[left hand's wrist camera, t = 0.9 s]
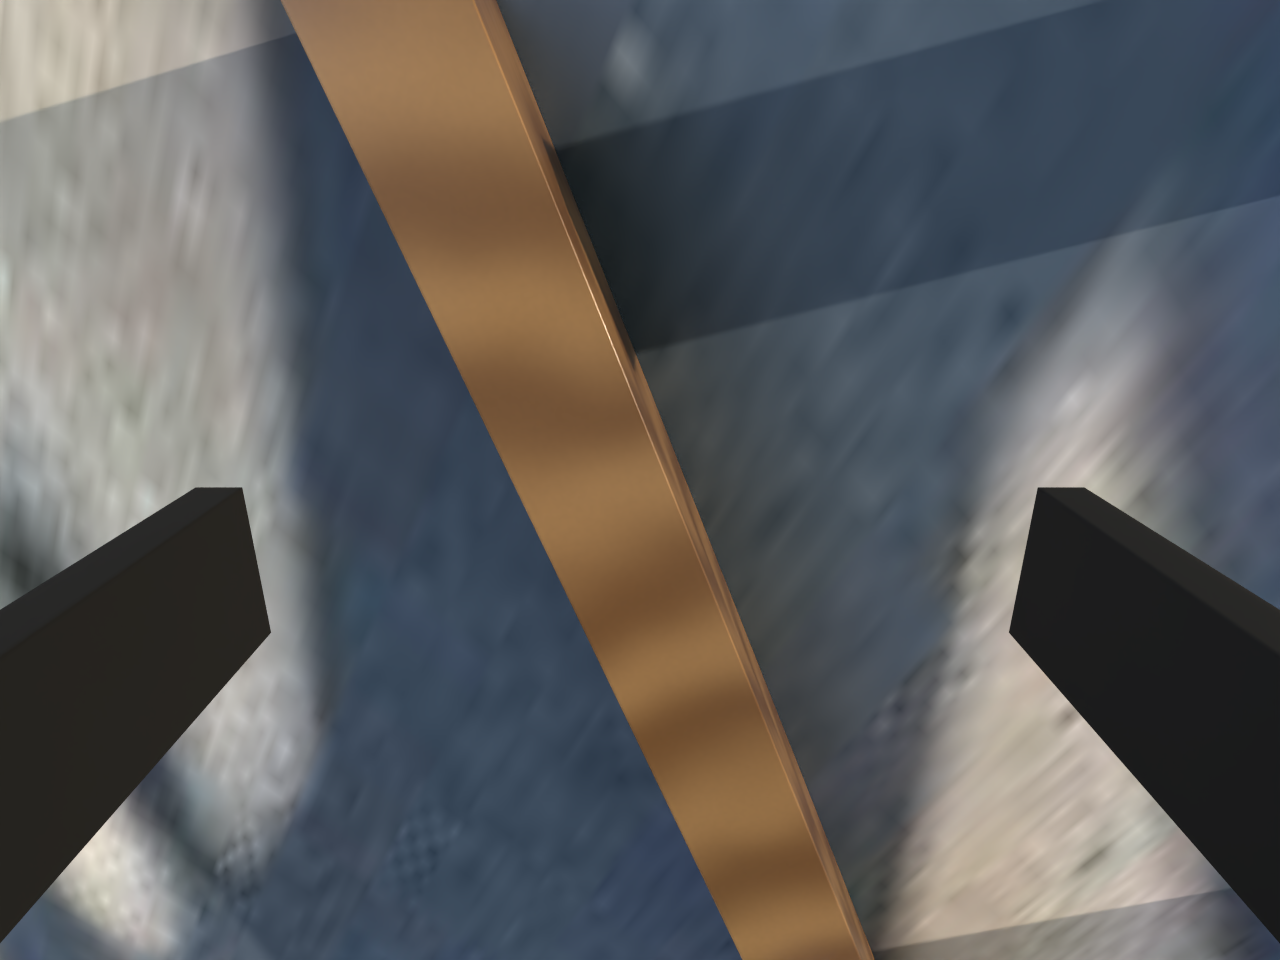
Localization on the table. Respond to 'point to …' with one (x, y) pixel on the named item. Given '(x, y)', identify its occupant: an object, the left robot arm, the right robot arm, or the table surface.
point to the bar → (581, 441)
